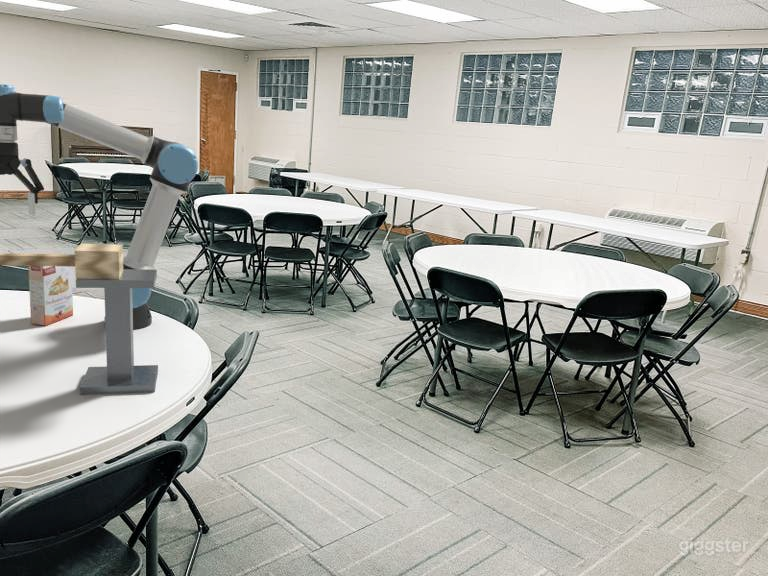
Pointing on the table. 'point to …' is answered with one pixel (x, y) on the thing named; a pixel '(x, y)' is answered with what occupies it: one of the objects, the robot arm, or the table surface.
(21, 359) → the table surface
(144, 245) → the robot arm
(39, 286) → the cracker box
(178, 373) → the table surface
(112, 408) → the table surface
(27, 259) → the mallet
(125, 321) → the stand
